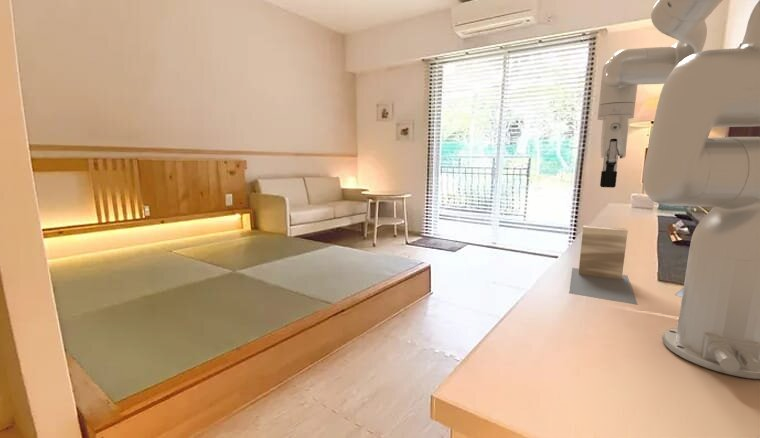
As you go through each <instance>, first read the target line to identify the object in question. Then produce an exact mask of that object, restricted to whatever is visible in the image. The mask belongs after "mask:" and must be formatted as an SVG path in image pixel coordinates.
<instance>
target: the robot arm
mask: <svg viewBox="0 0 760 438" xmlns="http://www.w3.org/2000/svg"><path fill="white" fill-rule="evenodd" d="M723 1H724V0H657V1H656V3H655V4H654V6H653V7H652V10H651V13H650V19H651V22H652V25H653V27H654V28H655V29H656V30H657V31H658V32H660V33H661V34H663V35H666V36H667V37H670V38H672V39H675V40H677V42H675V43H674V45H672V46H657V47H656V46H655V47H639V48H638V47H637V48H624V49H620V50H618V51H617V52H614V54H613V55H612V56H611V58H609V60H608V61H607V62H605V64H603V66H602V69H601V71H602V73H601V81H600V91H599V92H600V93H599V101H598V110H597V120H598V121H602V125H601V139H600V157H601V159H603V163H602V170H601V174H600V181H599V182H600V183H599V186H600V187H601V188H612V189H613V188H614V189H615V187H616V184H617V176H618V171H617V169H618V161H619V160H618V159H621V160H622V159H624V158H625V157H626V155H627V143H628V136H629V135H628V134H629V120H631V119H633V118H634V116H635V110H636V109H635V108H636V99H637V93H638V85H640V86H641V85H663V86H662V88H661V92H660V95H659V98H658V101H657V106H656V111H655V115H654V119H653V124H652V129H651V133H650V138H649V143H648V146H647V147H648V148H647V152H646V157H645V161H644V166H643V173H642V184H643V185H642V186H643V188H644V192H645V194H646V195H647V197H648V198H649V199H650V200H652V201H653V202H655V203H657V204H659V205H660V204H661V205H664V206H665V205H666V206H675V207H676V206H677V207H678V206H680V207H703V208H704V207H706V208H707V207H709V208H710V207H711V209H710V210H709V211H708V213H707V214H705V216H704V217H703V218H702V219H701V220H700V221H699V223H698V224H697V225H696V227H695V229H694V230H693V233H692V235H691V239H690V246H689V250H688V257H687V263H686V268H685V269H686V270H685V278H684V281H683V283H684V284H683V287H684V289H683V295H682V297H681V302H680V309H679V317H678V322H677V327H675V328H670V329H667V330H665V331H664V332H663V335H662V342H663V344H664V345H665V347H666V348H667V349H668V350H670V352H672V353H674V354H676V355H677V356H679V357H680V358H683V359H685V360H686V361H689V362H691V363H693V364H696V365H697V366H700V367H702V368H706V369H709V370H711V371H715V372H718V373H722V374H726V375H730V376H735V377H738V378H739V377H740V378H744V379H754V380H755V379H756V380H760V136H725V137H723V136H722V137H709V136H710V135H711V134H710V133H711V131H712V130H713V128H729V127H730V128H732V127H733V128H734V127H735V128H737V127H738V128H740V127H742V128H743V127H760V0H758V2H756V5H754V7H753V9H752V11H751V13H750V16H749V18H748V21H747V22H748V23H747V25H746V29H745V34H744V36H743V38H742V42H741V45H740V46H739V47H737V48H720V49H719V48H718V49H709V50H703V49H704V47H705V44H706V40H707V37H708V36H707V35H708V33H707V32H708V30H707V29H708V28H707V23H706V19H707V18H708V17H709V16H710V15H711V14H712V13H713V12H714V10H716V8H717V7H718V6H719V5H720V4H721V3H722V2H723Z"/></svg>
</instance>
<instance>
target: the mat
mask: <svg viewBox="0 0 760 438" xmlns="http://www.w3.org/2000/svg"><path fill="white" fill-rule="evenodd" d="M568 294H572V295H577V296H585V297H589V298H597V299H601V300H602V299H603V300H607V301H615V302H620V303H627V304H632V305H639V304H638V301H637V299H636V296H635V293H634V290H633V288H632V285H631V282H630V279H629V277H628V275H627V274H622V280H618V279H611V278H604V277H597V276H590V275H583V274H579V267H578V268H577V267H576V268H575V267H572V268H571V276H570V283H569V291H568Z"/></svg>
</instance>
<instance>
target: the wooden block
mask: <svg viewBox="0 0 760 438" xmlns="http://www.w3.org/2000/svg"><path fill="white" fill-rule="evenodd" d="M627 239H628V229H627V228H624V227H623V228H621V227H612V226H611V227H609V226H599V225H598V226H597V225H587V224H586V225H585V224H583V226H582V235H581V244H580V245H581V246H580V255H579V263H578V264H579V265H578V269H579V274H583V275H590V276H597V277H604V278H611V279H618V280H622V275H623V273H624V272H623V271H624V263H625V256H626V255H625V254H626V249H627V248H626V247H627V241H628V240H627Z"/></svg>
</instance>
